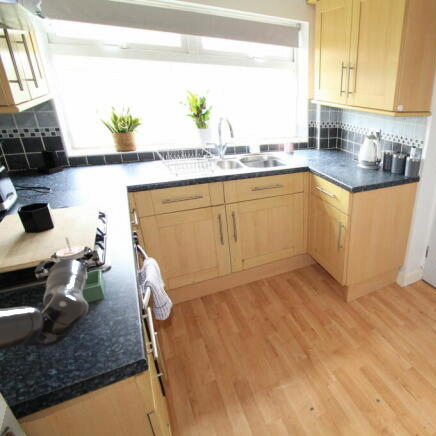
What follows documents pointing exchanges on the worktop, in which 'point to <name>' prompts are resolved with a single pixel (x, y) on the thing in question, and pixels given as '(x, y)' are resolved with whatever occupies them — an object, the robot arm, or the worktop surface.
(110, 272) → the worktop surface
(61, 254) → the smoothie
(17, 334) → the robot arm
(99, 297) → the green open box
